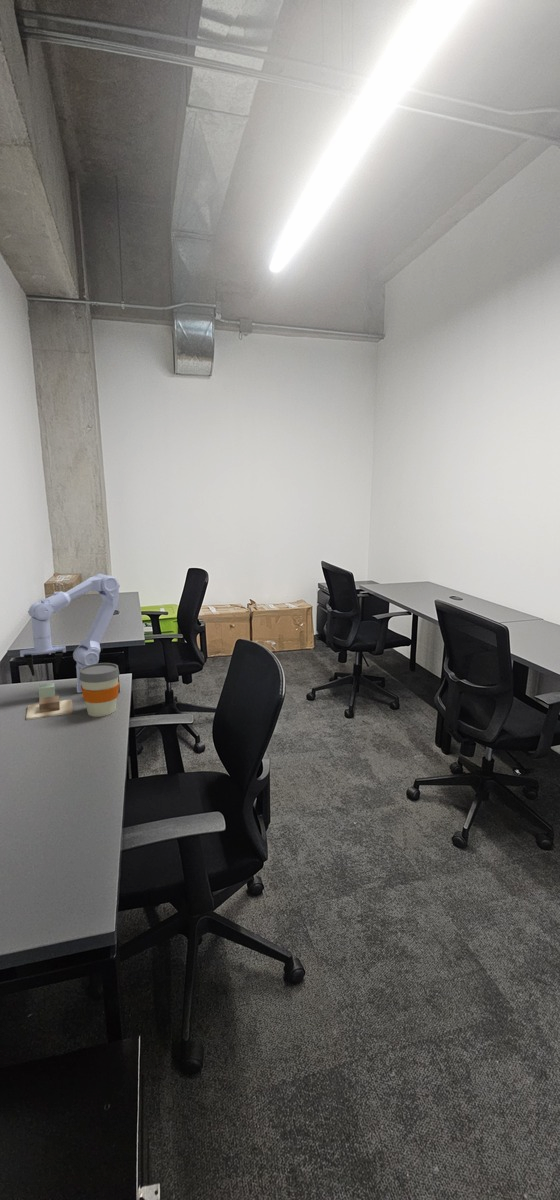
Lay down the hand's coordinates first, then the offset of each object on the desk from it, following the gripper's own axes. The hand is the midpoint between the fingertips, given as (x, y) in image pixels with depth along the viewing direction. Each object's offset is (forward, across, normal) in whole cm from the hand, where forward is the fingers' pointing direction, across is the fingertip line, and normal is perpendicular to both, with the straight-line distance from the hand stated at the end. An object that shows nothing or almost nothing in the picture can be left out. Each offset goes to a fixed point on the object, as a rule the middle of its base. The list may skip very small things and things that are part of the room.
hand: (45, 673), depth 179 cm
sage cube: (+9, 0, 0) cm, 9 cm away
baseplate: (+9, -1, +12) cm, 15 cm away
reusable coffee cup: (+10, -17, +20) cm, 28 cm away
